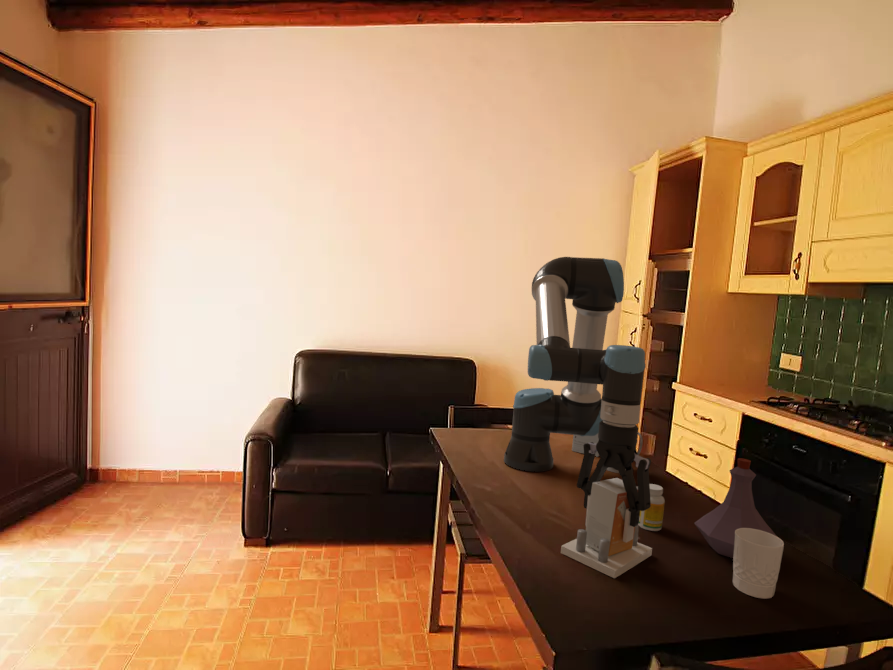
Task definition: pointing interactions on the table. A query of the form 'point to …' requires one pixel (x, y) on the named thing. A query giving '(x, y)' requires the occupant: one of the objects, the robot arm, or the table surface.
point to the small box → (608, 515)
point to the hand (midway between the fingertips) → (608, 532)
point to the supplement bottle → (653, 510)
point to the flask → (733, 512)
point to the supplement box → (581, 440)
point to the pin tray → (614, 559)
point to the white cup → (756, 562)
